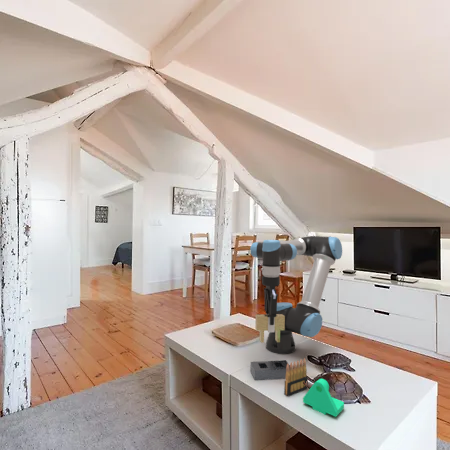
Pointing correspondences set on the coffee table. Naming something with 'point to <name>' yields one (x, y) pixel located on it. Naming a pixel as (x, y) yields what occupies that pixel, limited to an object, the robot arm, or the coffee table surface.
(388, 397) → the coffee table surface
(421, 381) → the coffee table surface
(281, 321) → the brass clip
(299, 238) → the robot arm
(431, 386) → the coffee table surface
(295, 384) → the ammunition clip
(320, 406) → the camera mount
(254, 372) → the grey block with holes
